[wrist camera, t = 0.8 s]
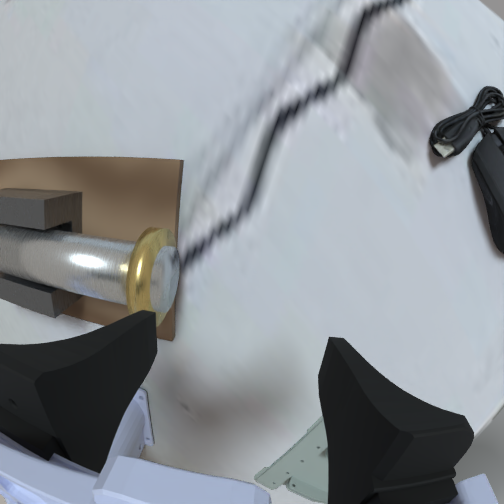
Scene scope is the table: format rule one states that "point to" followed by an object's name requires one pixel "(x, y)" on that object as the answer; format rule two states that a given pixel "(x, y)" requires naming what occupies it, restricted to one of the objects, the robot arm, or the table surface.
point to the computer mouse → (479, 152)
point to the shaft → (97, 265)
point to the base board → (109, 207)
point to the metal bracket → (302, 466)
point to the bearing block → (42, 217)
